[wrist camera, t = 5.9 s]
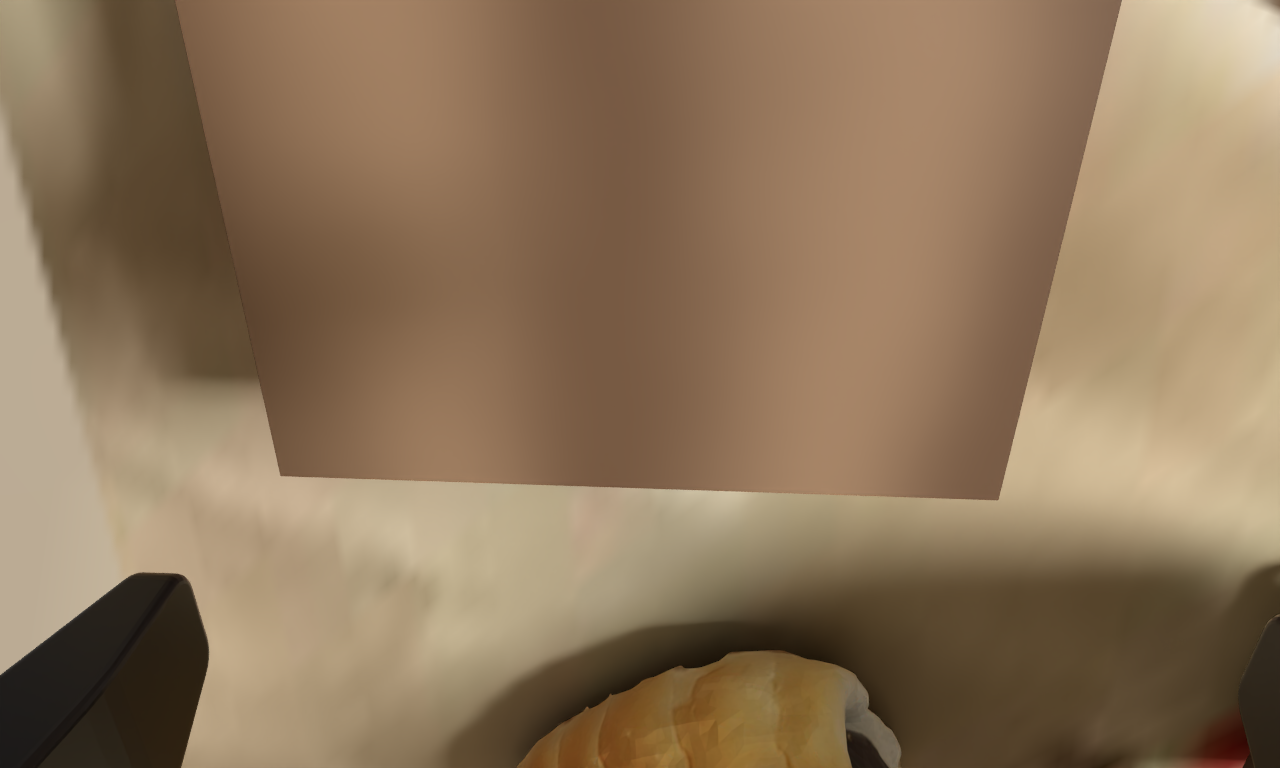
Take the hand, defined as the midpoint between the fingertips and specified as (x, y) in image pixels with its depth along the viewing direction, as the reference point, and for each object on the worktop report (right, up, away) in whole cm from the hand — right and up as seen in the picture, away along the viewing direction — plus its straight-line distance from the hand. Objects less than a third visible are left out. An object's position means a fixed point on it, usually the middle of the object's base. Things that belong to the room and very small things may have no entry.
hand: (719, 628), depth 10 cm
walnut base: (-1, +7, +9) cm, 11 cm away
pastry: (-2, -5, +18) cm, 19 cm away
